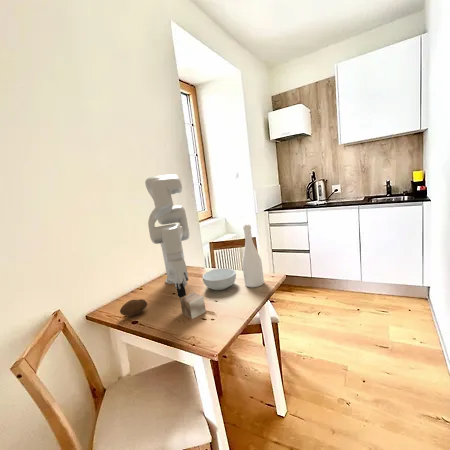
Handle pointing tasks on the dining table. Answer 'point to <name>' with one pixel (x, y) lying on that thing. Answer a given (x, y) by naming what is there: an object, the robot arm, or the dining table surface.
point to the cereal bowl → (219, 278)
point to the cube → (192, 305)
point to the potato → (133, 307)
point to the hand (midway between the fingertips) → (182, 296)
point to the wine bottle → (251, 261)
